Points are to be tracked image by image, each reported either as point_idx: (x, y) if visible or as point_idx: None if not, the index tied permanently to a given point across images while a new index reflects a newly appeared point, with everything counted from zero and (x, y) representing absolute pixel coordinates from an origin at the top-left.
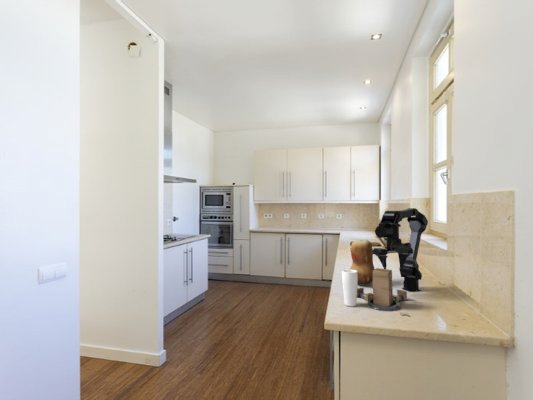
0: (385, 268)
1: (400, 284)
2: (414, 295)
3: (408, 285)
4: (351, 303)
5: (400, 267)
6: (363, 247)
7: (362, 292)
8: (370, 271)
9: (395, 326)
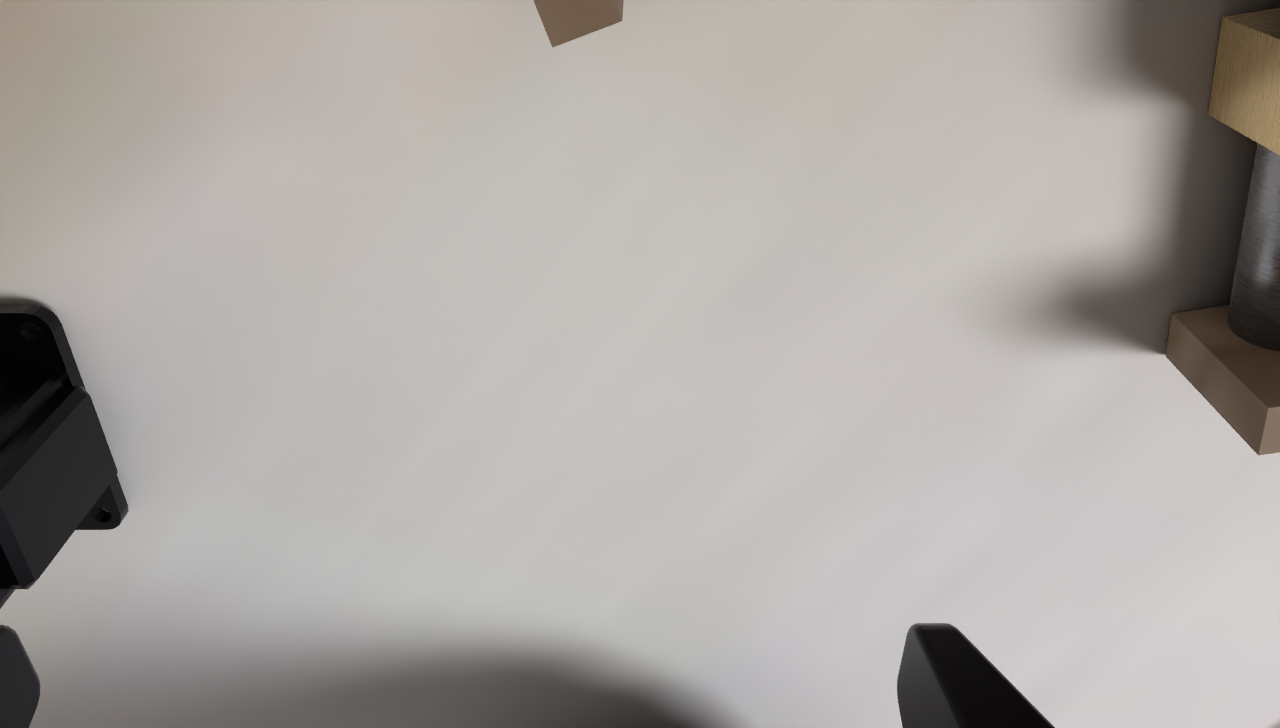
0: (976, 653)
1: None
2: (79, 85)
3: (3, 431)
4: None
5: (33, 709)
6: None
7: (1254, 353)
8: None
9: None
